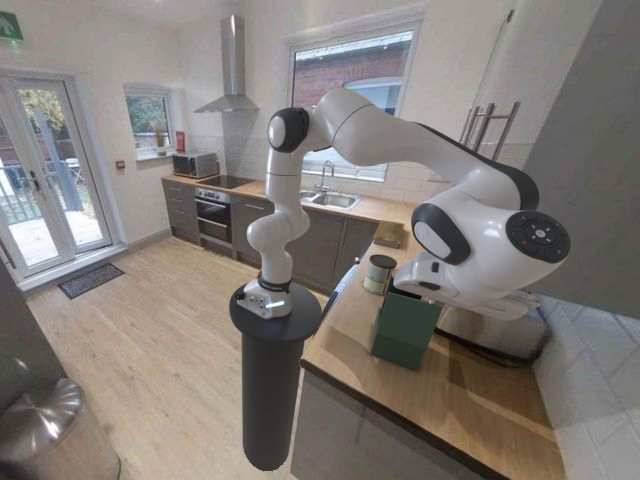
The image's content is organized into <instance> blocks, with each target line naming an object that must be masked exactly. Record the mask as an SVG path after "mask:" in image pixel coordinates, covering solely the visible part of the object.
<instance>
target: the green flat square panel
mask: <svg viewBox="0 0 640 480" xmlns="http://www.w3.org/2000/svg"><path fill="white" fill-rule="evenodd" d="M442 309H443V308H442V307H439V306H436V305H432V304H429V301H426V300H422V299H421V300H418V299H414V298H410V297H406V296H402V295H398V294H395V293H391V292H388V296H387V299H386V303H385V306H384V309H383V313H382V316H381V320H380V323H379V327H378V330H377V334H380V335H383V336H386V337H389V338H392V339H395V340H398V341H401V342H404V343H407V344H410V345H413V346H416V347H419V348H422V349H425V351H426V350H428V347H429V344H430V342H431V339H432V336H433V335H434V332H435V329H436V327H437V324H438V321H439V319H440V316H441V314H442V313H441V311H442Z"/></svg>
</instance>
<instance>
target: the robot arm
mask: <svg viewBox="0 0 640 480" xmlns="http://www.w3.org/2000/svg"><path fill="white" fill-rule="evenodd" d="M266 131H267V132H266V133H267V139H268V143H269V147H268V153H267V159H266V167H265V189H264V193H265V197H266V198H267V200H268V201H270V202H271V203H273V205H274V212H273V213H272V214H269V215H265V216H262V217H259V218H258V219H256V220H255V221H253V222H251V223H250V224H249V225H248V226H247V229H246V239H247V242H248V244H249V245H250V246H251V247H252V249H253V250H256V251H257V252H258V253H259V254H260V256H261V267H260V269H259V270H260V271H258V273H257V275H256V276H255V278H252V279H251V280H250V281H248V282H249V283H248V282H247V283H248V284H247V285H246V286H245V288H239V287H238V288H237V289H238V293H237V294H236V296H235V297H236V299H237V304H238V305H240V306H242V307H244V308H246V309H247V310H249V311H251V312H253V313H255V314H256V315H258V316H260V317H262V318H264V319H266V320H268V319H271V318H273V317H282V316H285V315H287V314H289V313H290V312H291V310H292V308H293V304H292V301H291V289H292V282H293V274H292V273H293V264H294V263H293V262H294V261H293V257H292V256H291V254H290V253H289V252H288V251H286V250H285V247H286V245H287V243H289V242H291V241H294V240H296V239H299V238H300V237H302V236H303V235H304V234H306V233H307V232H308V231H309V229H310V228H311V227H310V226H311V219H310V217H309V214H308V213H307V212H306V211H305V210H304V208H303V206H302V202H301V201H302V200H301V186H302V175H303V165H304V164H303V163H304V158H305V156H306V155H307V154H308V153H311V152H313V153H317V152H322V151H325V150H328V149H331V148H333V149H334V150H335V151H336V153H337V154H338V155H339V156H340V157H341V158H342V159H344V161H346V162H348V163H349V164H351V165H353V166H356V167H364V168H365V167H376V166H380V165H385V164H392V163H402V162H403V163H404V162H410V163H415V164H416V163H417V164H420V165H422V166H424V167H426V169H427V168H428V169H429V170H431V171H432V172H433V173H435V174H437V175H438V176H440V177H442V178H443V179H445V180H446V181H447V182H449V183H451V184H452V185H454V186H453V187H451V188H449V189H447V190H445V191H442V192H440V193H438V194H435V196H433V197H430V198H429V199H427V200H425V201H423V202H422V203H420V204H418V205H417V206H415V208H414V209H413V211H412V214H411V218H410V225H411V231H412V235H413V238H414V240H415V241H416V242H417V243H418V244H419V245H420V247H422V248H423V249H424V251H419V252H417V253H416V255H415V257H414V259H411V260H408V261H406V262H405V263H404V264H402V265H401V266H400V267H399V268H397V269H398V270H397V272H396V274H395V278H394V283H393V285H394V286H395V287H396V288H397V289H401V290H404V291H407V292H411V293H414V294H417V295H421V296H422V297H424V298H428V299H429V301H428V302H429V304H432V305H436V306H439V307H442V308H446V307H460V308H463V309H466V311H469V310H470V311H473V312H474V313H477V314H480V315H483V316H487V317H490V318H493V319H496V320H499V321H503V322H513V321H515V320H518V319H519V318H521V317H523V316H525V315H526V314H527V313H528V311H529V310H531V309H535V308H539V307H540V306H542V304H543V303H542V300H541V299H540V298H537V296H536V295H535V294H533V293H529V292H524V291H523V290H520V289H523V288H524V287H527V286H530V285H531V284H534V283H535V282H537V281H539V280H542V278H545V277H546V276H548V275H549V274H551V273H552V272H554V271H555V270H557V269H558V268H559V267H560V266H561V265H563V263H564V262H565V261H566V260H567V258H568V257H569V255H570V252H571V249H572V238H571V236H570V233H569V230H567V228H566V227H565V226H564V224H563V223H561V222H560V221H559V220H558V219H556V218H555V217H553V216H552V215H549V214H547V213H544V212H541V211H538V210H537V209H538V207H539V204H540V190H539V187H538V184H537V183H536V181H535V180H534V179H533V178H532V177H531V176H530V175H529V174H528V173H526V172H525V171H523V170H521V169H519V168H517V167H514V166H511V165H508V164H505V163H502V162H498V161H495V160H492V159H490V158H488V157H485V156H484V155H482V154H480V153H478V152H476V151H475V150H473V149H471V148H469V147H467V146H466V145H464V144H462V143H461V142H458V141H457V140H455V139H453V138H452V137H450V136H448V135H446V134H444V133H443V132H440V131H438V130H436V129H435V128H433V127H431V126H428V125H427V124H425V123H424V124H423V123H421V122H416V121H410V120H407V119H402V118H400V117H397V116H395V115H393V114H390V113H389V112H386V111H384V110H382V109H381V108H380V107H378V106H377V105H376V104H375V103H373V102H372V100H369V99H368V98H366V97H365V96H363V95H361V94H360V93H358V92H355V90H351V89H350V88H347V87H336V88H335V87H334V88H333V89H331V90H329V91H327V92H326V93H325V94H324V95H323V96H322V97H321V98H320V100H319V101H318V103H317V104H316V106H315V105H308V106H300V107H299V106H298V107H297V106H296V107H295V106H293V107H292V106H289V107H285V108H282V109H278V110H276V112H274V113H273V114H272V116H271V118H270V119H269V121H268V125H267V130H266ZM237 296H238V297H237Z"/></svg>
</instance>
